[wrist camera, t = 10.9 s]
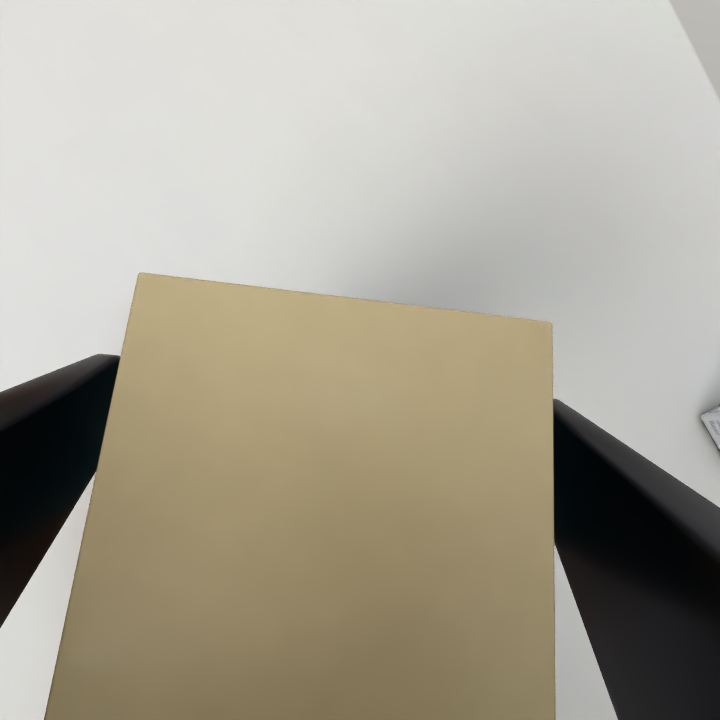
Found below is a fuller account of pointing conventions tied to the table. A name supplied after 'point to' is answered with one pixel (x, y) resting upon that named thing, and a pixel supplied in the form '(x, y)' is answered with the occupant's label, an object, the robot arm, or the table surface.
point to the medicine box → (713, 424)
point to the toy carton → (316, 515)
